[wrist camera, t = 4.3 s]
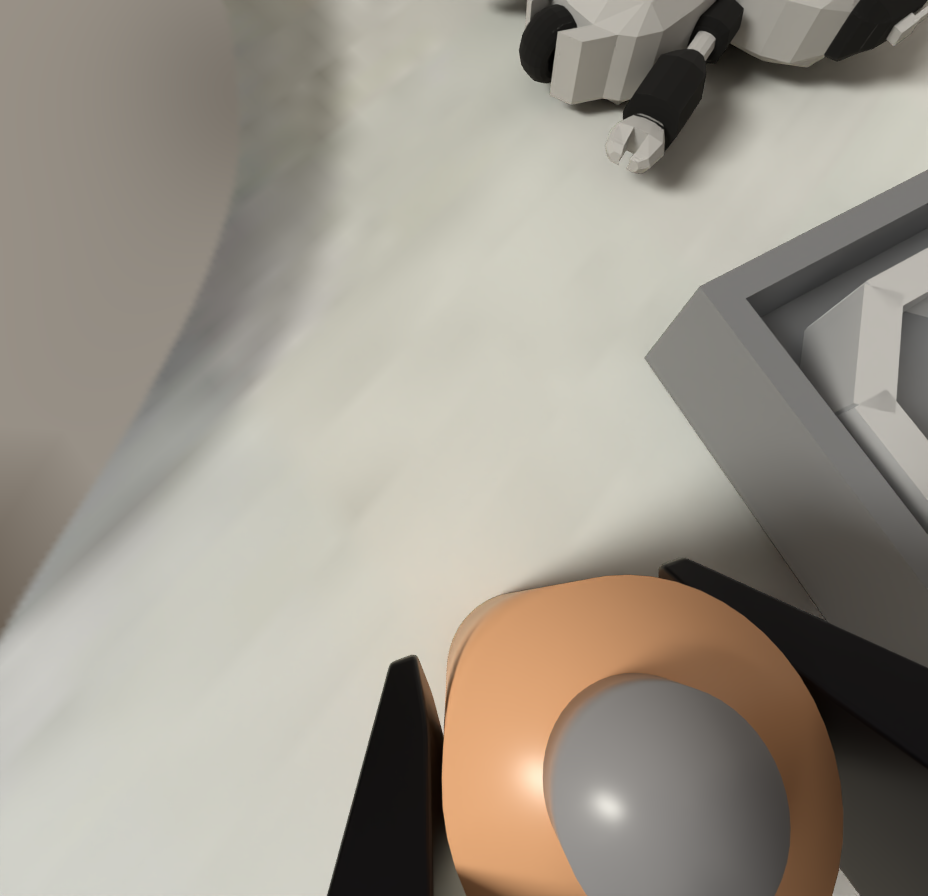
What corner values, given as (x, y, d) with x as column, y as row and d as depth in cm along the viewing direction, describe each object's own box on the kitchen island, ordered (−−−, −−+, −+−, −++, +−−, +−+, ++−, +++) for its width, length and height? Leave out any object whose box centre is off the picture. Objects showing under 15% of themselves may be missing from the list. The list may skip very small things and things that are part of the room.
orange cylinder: (625, 701, 14) (1007, 913, 5) (494, 785, 14) (606, 1242, 4) (547, 565, 15) (723, 496, 5) (420, 639, 15) (359, 710, 5)
